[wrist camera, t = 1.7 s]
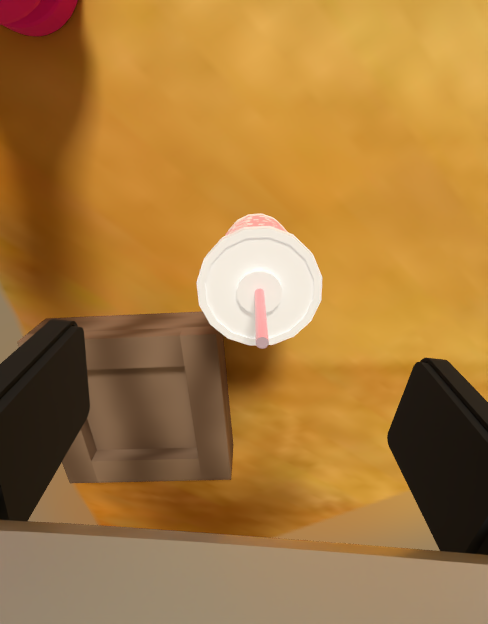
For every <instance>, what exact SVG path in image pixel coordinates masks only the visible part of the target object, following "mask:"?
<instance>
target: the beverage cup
mask: <svg viewBox="0 0 488 624" xmlns="http://www.w3.org/2000/svg"><path fill="white" fill-rule="evenodd" d="M197 290H198V299H199V306H200V307H201V309H202V311H203V313H204V314H205V316H206V318H207V320H208V321H209V323H210V325H211V326H213V327H214V328H215V329H216V330H218V331H219V332H220V333H222V334H223V335H224V336H225V337H227V338H228V339H231V340H234V341H237V342H240V343H243V344H246V345H249V346H252V345H256V346H257V347H258V348H266V347H267V346H268V345H273V344H276V343H278V342H281V341H284V340H286V339H289V338H291V337H294V336H295V335H296V334H297V333H298V332H299V331H301V330H302V329H303V328H304V327H305V326H306V325H307V324H308V323H309V322H311V320H312V318H313V316H314V314H315V312H316V310H317V308H318V306H319V304H320V302H321V293H322V275H321V273H320V270H319V268H318V265H317V263H316V260H315V258H314V255H313V254H312V253H311V252H310V250H309V249H308V248H307V247H306V246H305V245H303V244H302V243H301V242H300V241H299V240H298V239H297V238H296V237H295V236H294V235H293V234H291V233H288V232H287V231H286V229H285V228H284V227H283V226H282V225H281V224H280V223H279V222H278V221H277V220H276V219H275V218H273V217H270V216H267V215H265V214H249V215H247V216H244V217H242V218H240V219H238V220H237V221H236V222H235V223H234V224H233V226H232V227H231V228H230V229H229V230H228V232H227V233H226V235H225V236H224V237H222V238H221V239H220V240H219V242H218V243H217V244H216V245H215V246H214V247H213V248H212V250H211V251H210V252H209V253H208V254H207V255H206V257H205V258H204V261H203V264H202V267H201V270H200V273H199V276H198V279H197Z"/></svg>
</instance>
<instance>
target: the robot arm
mask: <svg viewBox="0 0 488 624" xmlns="http://www.w3.org/2000/svg"><path fill="white" fill-rule="evenodd" d="M89 410H90V399H89V387H88V375H87V362H86V350H85V338H84V330H83V328H82V327H78V325H77V323H76V322H75V321H69V320H59V319H51V320H50V321H48V322H47V323H46V324H45V325H44V326H43V327H42V328H41V329H39V330H38V331H37V332H36V333H35V334H34V335H33V336H31V337H30V338H29V339H28V340H27V341H26V342H25V343H24V344H22V345H21V346H20V347H19V348H18V349H17V350H16V351H15V352H13V353H12V354H11V355H10V356H9V357H8V358H7V359H6V360H4V361H3V362H2V363H1V364H0V624H488V402H487V401H486V400H485V399H484V398H483V397H482V396H481V395H480V394H479V393H478V392H477V391H476V390H475V389H474V387H473V386H472V385H471V384H470V383H469V382H468V381H467V380H466V379H465V378H464V377H463V376H462V375H461V374H460V373H459V372H458V371H457V370H456V369H455V368H454V367H453V366H452V365H451V364H450V363H449V362H448V361H447V360H442V359H432V358H424V359H422V360H421V361H420V362H417V363H416V364H415V365H414V367H413V370H412V372H411V375H410V377H409V380H408V383H407V385H406V388H405V390H404V393H403V395H402V398H401V401H400V403H399V406H398V408H397V411H396V414H395V416H394V419H393V421H392V424H391V427H390V429H389V432H388V437H387V438H388V445H389V447H390V449H391V451H392V453H393V455H394V457H395V459H396V462H397V464H398V466H399V468H400V470H401V472H402V474H403V476H404V478H405V480H406V482H407V484H408V486H409V488H410V490H411V492H412V494H413V496H414V498H415V500H416V502H417V504H418V507H419V509H420V511H421V512H422V515H423V516H424V519H425V521H426V523H427V525H428V527H429V529H430V531H431V533H432V535H433V537H434V539H435V541H436V543H437V545H438V547H439V549H440V551H432V550H420V549H408V548H396V547H382V546H371V545H359V544H358V545H357V544H346V543H332V542H319V541H306V540H293V539H280V538H267V537H253V536H240V535H226V534H213V533H199V532H185V531H170V530H156V529H142V528H127V527H113V526H98V525H84V524H68V523H49V522H47V523H46V522H29V521H28V519H29V517H30V516H31V514H32V512H33V511H34V509H35V507H36V505H37V504H38V502H39V500H40V498H41V497H42V495H43V493H44V492H45V490H46V488H47V486H48V485H49V483H50V481H51V480H52V478H53V476H54V474H55V473H56V471H57V469H58V467H59V466H60V464H61V462H62V461H63V459H64V457H65V455H66V454H67V452H68V450H69V449H70V447H71V445H72V443H73V442H74V440H75V438H76V436H77V435H78V433H79V431H80V430H81V428H82V426H83V424H84V423H85V421H86V419H87V417H88V414H89Z"/></svg>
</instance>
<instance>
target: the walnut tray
mask: <svg viewBox="0 0 488 624" xmlns="http://www.w3.org/2000/svg"><path fill="white" fill-rule="evenodd" d="M51 319H59V320H69V321H75V322H76V323H77V325H78V327H82V328H83V330H84V338H85V350H86V362H87V375H88V387H89V399H90V410H89V414H88V417H87V419H86V421H85V423H84V424H83V426H82V428H81V430H80V431H79V433H78V435H77V436H76V438H75V440H74V442H73V443H72V445H71V447H70V449H69V450H68V452H67V454H66V455H65V457H64V459H63V461H62V464H63V466H64V469H65V472H66V474H67V477H68V480H69V482H70V483H100V482H143V481H187V480H231V472H232V457H233V438H232V427H231V416H230V406H229V395H228V384H227V373H226V363H225V352H224V341H223V334H222V333H220V332H219V331H218V330H216V329H215V328H214V327H213V326H211V325H210V323H209V321H208V320H207V318H206V316H205V314H204V313H203V312H184V313H161V314H139V315H116V316H93V317H71V318H48V319H45V320H44V321H42V322H41V323H40V324H39V325H37V326H36V327H35V328H34V329H33V330H31V331H30V332H29V333H28V334H26V335H25V336H24V337H23V338H22V339H20V340H19V341H18V342H17V343H18V346H19V347H20V346H21V345H22V344H24V343H25V342H26V341H27V340H28V339H29V338H30V337H31V336H33V335H34V334H35V333H36V332H37V331H38V330H39V329H41V328H42V327H43V326H44V325H45V324H46V323H47V322H48V321H50V320H51Z"/></svg>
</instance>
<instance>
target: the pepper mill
mask: <svg viewBox="0 0 488 624" xmlns="http://www.w3.org/2000/svg"><path fill="white" fill-rule="evenodd" d="M77 1H78V0H0V25H3V26H5V27H7V28H9V29H11V30H13V31H15V32H18V33H20V34H24V35H28V36H44V35H48V34H51V33H53V32H55V31H57V30H58V29H59V28H61V27H62V26H63V25H64V24H65V23H66V22H67V20H68V19H69V18H70V17H71V15H72V13H73V11H74V9H75V7H76V4H77Z"/></svg>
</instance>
